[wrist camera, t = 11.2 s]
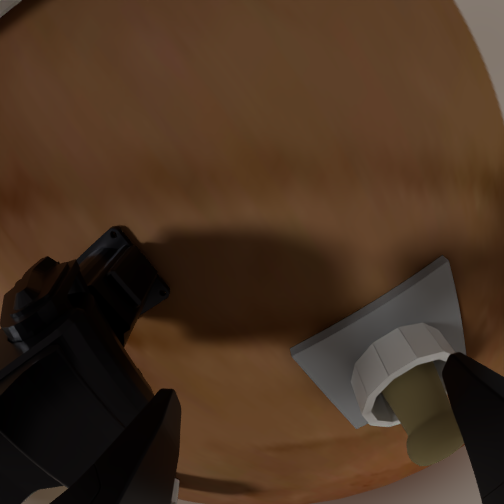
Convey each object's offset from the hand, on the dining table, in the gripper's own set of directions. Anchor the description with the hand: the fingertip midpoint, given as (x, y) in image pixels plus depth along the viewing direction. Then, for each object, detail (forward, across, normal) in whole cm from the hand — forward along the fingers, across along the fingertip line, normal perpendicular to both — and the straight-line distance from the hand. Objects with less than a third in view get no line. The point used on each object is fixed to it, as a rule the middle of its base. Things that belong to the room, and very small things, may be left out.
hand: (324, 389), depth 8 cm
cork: (+12, -11, +13) cm, 21 cm away
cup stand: (+13, -11, +13) cm, 22 cm away
